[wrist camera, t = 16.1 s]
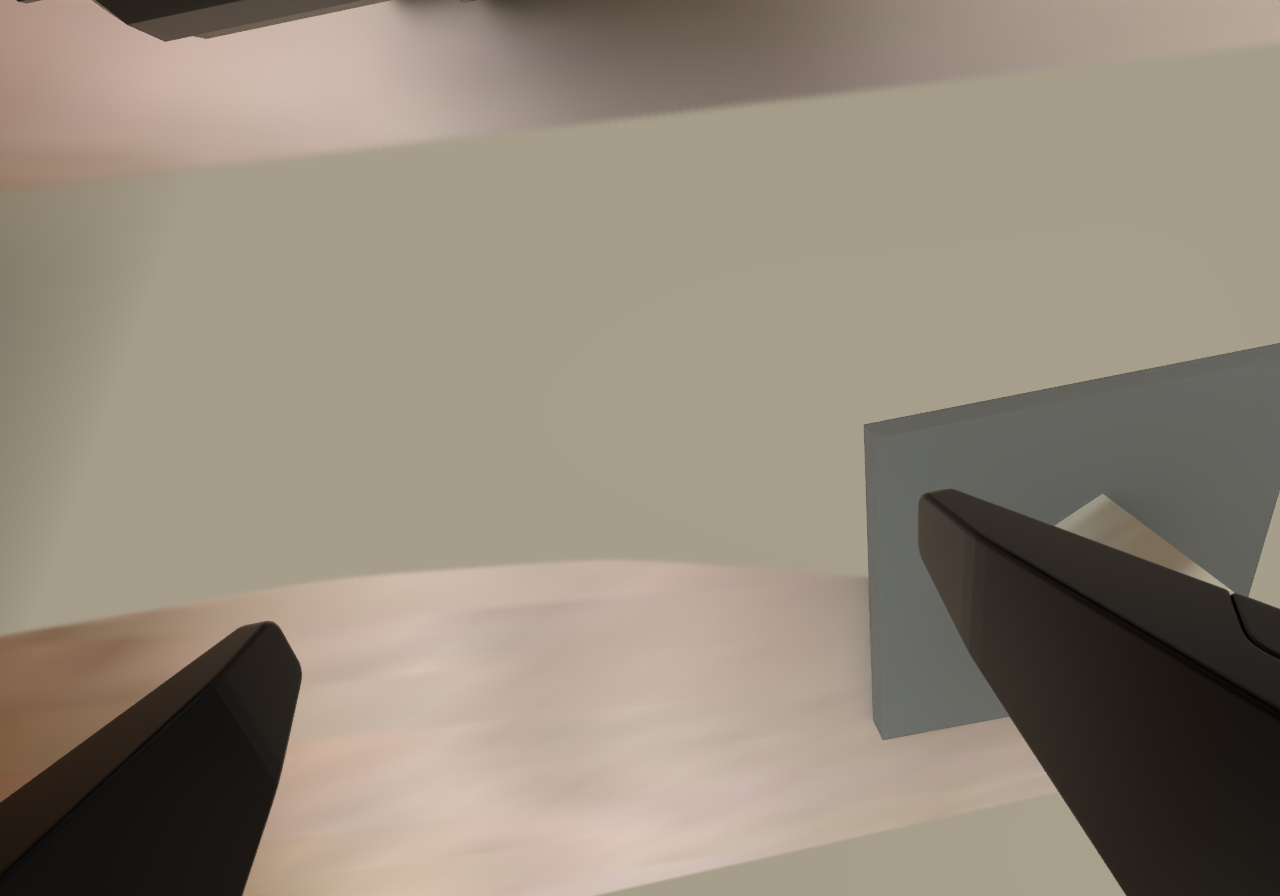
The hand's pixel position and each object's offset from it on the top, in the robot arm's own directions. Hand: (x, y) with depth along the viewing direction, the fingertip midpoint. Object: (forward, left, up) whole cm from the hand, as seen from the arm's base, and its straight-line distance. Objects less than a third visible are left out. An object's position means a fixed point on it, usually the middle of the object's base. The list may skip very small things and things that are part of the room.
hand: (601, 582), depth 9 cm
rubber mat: (+12, +15, -12) cm, 23 cm away
